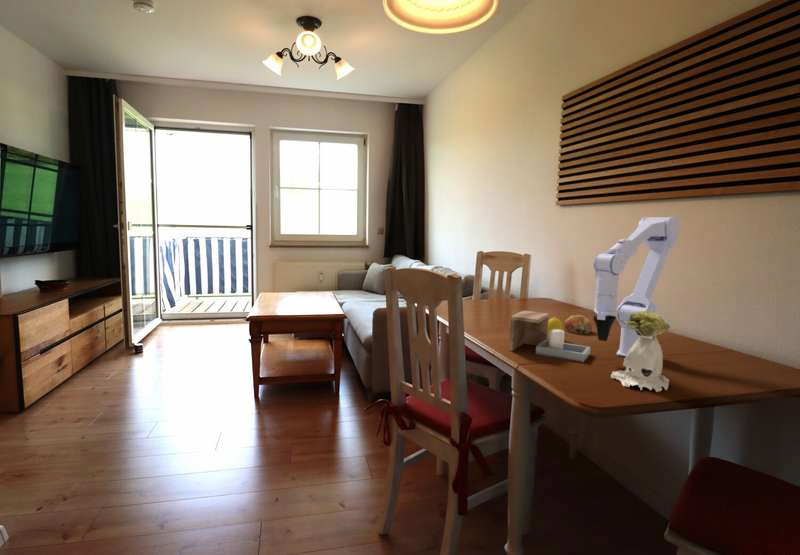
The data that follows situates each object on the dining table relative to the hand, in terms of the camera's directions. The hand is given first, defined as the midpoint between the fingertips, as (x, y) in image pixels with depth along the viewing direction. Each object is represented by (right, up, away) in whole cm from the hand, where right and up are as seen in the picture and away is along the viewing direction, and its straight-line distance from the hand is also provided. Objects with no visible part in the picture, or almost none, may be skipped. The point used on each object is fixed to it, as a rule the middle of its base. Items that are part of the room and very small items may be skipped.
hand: (602, 340), depth 132 cm
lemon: (-6, -3, +25) cm, 26 cm away
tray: (-9, -5, +7) cm, 13 cm away
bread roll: (+8, -2, +39) cm, 40 cm away
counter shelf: (-18, -4, +13) cm, 23 cm away
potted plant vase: (+1, -9, -18) cm, 20 cm away
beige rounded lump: (-11, -5, +8) cm, 14 cm away
